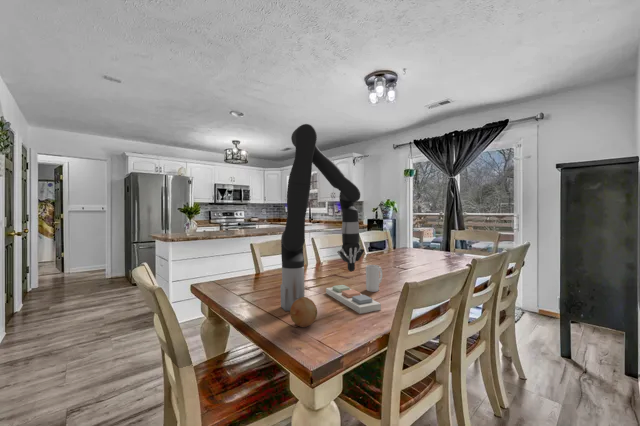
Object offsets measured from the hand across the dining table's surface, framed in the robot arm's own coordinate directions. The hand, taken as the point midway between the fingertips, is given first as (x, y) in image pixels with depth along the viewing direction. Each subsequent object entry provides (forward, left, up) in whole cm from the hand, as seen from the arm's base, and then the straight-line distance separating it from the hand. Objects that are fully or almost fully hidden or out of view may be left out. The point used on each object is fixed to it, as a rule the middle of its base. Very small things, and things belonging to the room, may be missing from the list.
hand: (351, 271), depth 131 cm
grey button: (0, -9, -11) cm, 14 cm away
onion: (-29, -16, -14) cm, 36 cm away
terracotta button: (0, 0, -11) cm, 11 cm away
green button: (0, +9, -11) cm, 14 cm away
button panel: (0, 0, -13) cm, 13 cm away
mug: (+20, +10, -14) cm, 26 cm away
